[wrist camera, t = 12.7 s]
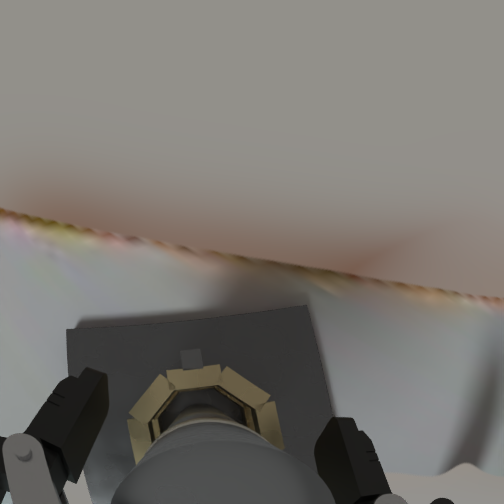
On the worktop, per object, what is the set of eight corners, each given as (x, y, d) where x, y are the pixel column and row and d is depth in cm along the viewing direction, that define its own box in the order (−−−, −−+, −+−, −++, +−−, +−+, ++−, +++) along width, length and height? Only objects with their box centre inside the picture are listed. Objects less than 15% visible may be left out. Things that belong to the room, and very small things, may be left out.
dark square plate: (103, 519, 13) (73, 555, 6) (72, 332, 19) (29, 303, 13) (339, 484, 17) (390, 505, 11) (301, 309, 23) (339, 274, 17)
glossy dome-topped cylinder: (179, 457, 16) (144, 610, 2) (169, 406, 17) (80, 443, 3) (235, 450, 16) (350, 575, 2) (225, 399, 18) (321, 414, 4)
